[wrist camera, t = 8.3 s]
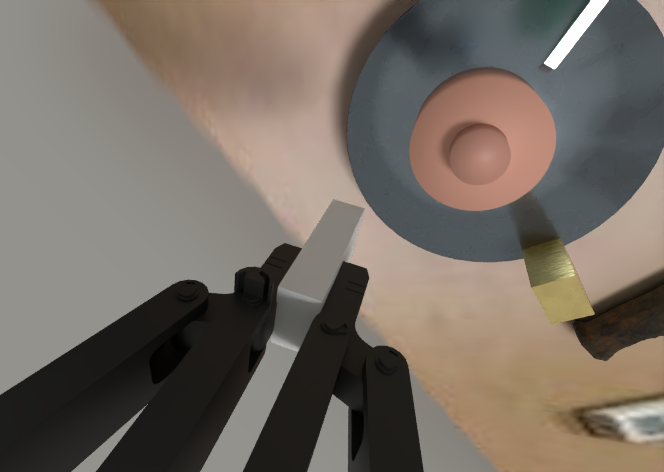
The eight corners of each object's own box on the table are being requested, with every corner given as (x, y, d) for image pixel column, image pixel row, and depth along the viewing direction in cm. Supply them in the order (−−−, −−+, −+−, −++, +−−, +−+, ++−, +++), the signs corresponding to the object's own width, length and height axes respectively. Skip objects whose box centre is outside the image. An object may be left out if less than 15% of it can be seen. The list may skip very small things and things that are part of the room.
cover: (393, 152, 31) (382, 180, 26) (460, 41, 25) (461, 53, 21) (488, 206, 31) (493, 242, 26) (574, 108, 26) (599, 133, 21)
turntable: (314, 177, 36) (287, 212, 30) (447, -107, 23) (445, -138, 17) (529, 295, 37) (542, 351, 31) (777, 83, 24) (878, 113, 18)
